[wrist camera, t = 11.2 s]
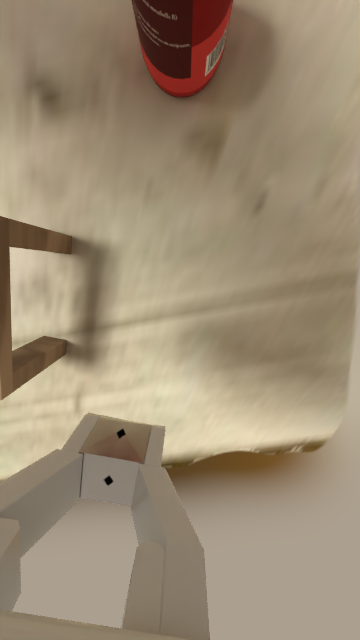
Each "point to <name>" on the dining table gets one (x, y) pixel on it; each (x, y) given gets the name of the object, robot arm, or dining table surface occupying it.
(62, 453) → the robot arm
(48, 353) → the wooden staple shape
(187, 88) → the canned food
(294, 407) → the dining table surface
